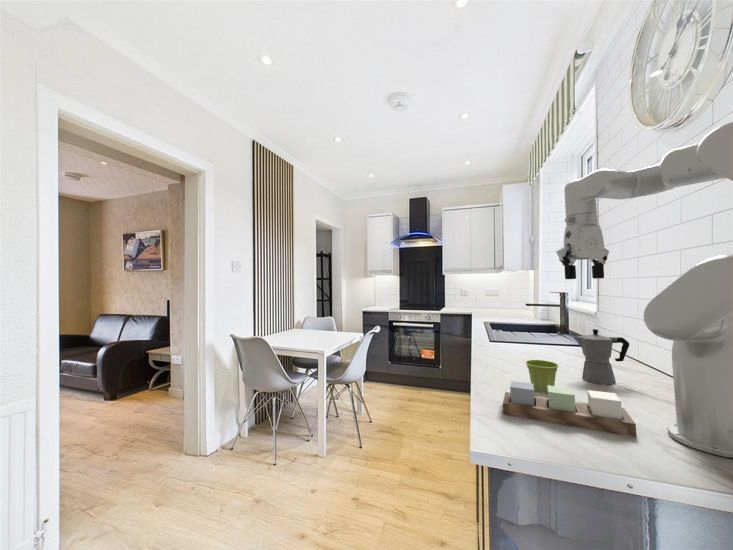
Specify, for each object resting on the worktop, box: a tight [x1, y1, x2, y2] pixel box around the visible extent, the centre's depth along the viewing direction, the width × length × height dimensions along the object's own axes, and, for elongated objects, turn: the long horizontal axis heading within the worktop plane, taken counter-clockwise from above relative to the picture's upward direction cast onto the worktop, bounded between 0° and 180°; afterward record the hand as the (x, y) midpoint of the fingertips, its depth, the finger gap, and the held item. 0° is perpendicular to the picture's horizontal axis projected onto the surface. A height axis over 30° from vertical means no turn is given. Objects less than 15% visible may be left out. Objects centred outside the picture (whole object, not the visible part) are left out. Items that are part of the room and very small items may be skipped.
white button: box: [587, 389, 623, 419], centre depth 71 cm, size 6×6×5 cm
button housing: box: [502, 391, 638, 438], centre depth 75 cm, size 27×9×3 cm, turn 60°
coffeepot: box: [572, 328, 630, 385], centre depth 101 cm, size 15×9×18 cm, turn 56°
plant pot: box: [524, 359, 560, 394], centre depth 94 cm, size 9×9×9 cm
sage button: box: [547, 385, 576, 412], centre depth 75 cm, size 6×6×5 cm
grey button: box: [509, 380, 535, 406], centre depth 79 cm, size 6×6×5 cm
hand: (584, 278), depth 86 cm, fingers open, 9 cm apart
